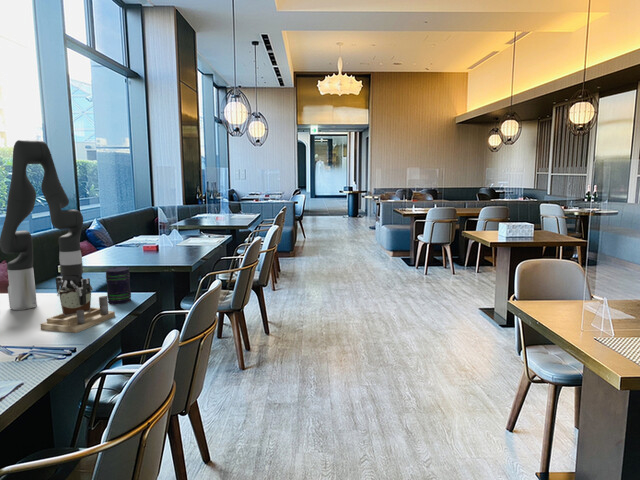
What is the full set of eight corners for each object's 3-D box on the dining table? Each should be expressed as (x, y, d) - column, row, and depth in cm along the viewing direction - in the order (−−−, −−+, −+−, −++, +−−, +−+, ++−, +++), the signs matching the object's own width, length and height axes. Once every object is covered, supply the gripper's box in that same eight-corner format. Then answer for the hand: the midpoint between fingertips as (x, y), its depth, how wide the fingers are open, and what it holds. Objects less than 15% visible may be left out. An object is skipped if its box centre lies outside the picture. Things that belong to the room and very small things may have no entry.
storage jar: (135, 301, 204) (133, 268, 202) (113, 305, 197) (111, 272, 195) (125, 297, 211) (123, 265, 208) (103, 301, 203) (101, 269, 201)
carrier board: (40, 329, 167) (38, 305, 166) (82, 313, 186) (80, 292, 185) (76, 332, 163) (74, 308, 162) (114, 316, 182) (113, 294, 181)
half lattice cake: (88, 306, 181) (86, 282, 180) (94, 310, 177) (92, 285, 176) (54, 313, 172) (52, 288, 171) (59, 317, 168) (57, 291, 167)
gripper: (47, 263, 170) (51, 305, 172) (79, 265, 166) (82, 308, 169) (63, 259, 177) (67, 300, 179) (94, 261, 173) (97, 302, 176)
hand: (74, 304), depth 174 cm, fingers closed on half lattice cake, 7 cm apart
